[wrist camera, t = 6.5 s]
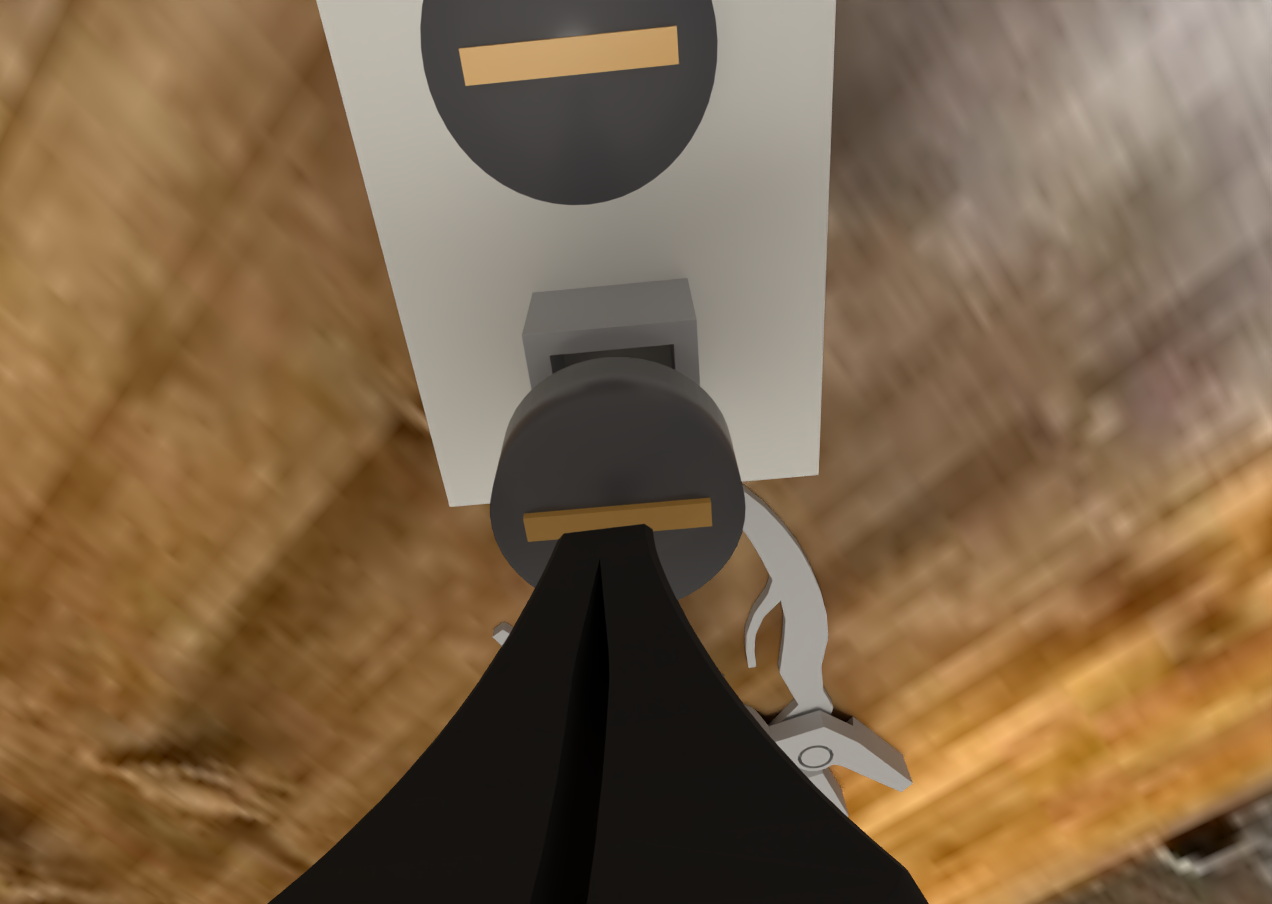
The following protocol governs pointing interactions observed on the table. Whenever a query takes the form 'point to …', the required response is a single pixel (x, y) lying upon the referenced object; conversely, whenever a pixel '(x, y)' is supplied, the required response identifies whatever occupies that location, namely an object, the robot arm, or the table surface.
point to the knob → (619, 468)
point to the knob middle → (570, 89)
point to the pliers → (803, 668)
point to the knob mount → (608, 244)
